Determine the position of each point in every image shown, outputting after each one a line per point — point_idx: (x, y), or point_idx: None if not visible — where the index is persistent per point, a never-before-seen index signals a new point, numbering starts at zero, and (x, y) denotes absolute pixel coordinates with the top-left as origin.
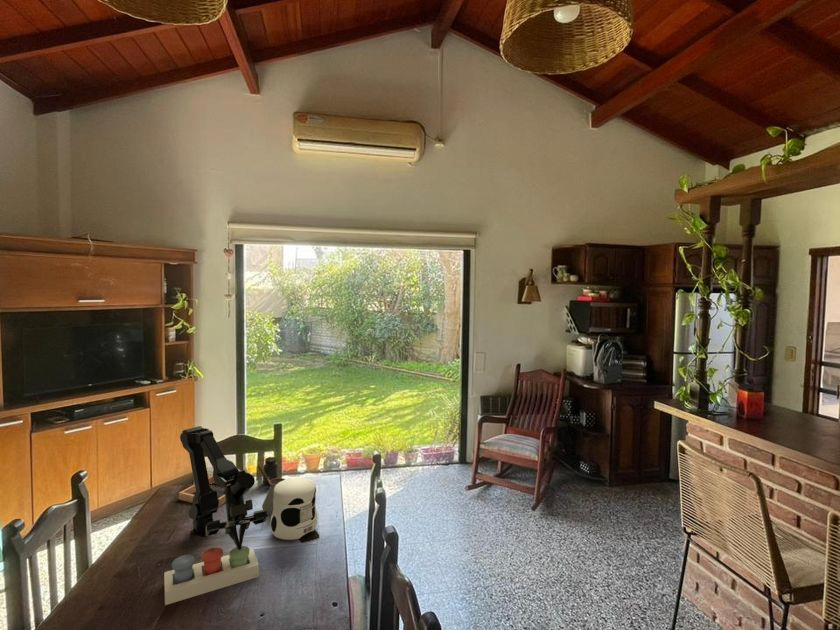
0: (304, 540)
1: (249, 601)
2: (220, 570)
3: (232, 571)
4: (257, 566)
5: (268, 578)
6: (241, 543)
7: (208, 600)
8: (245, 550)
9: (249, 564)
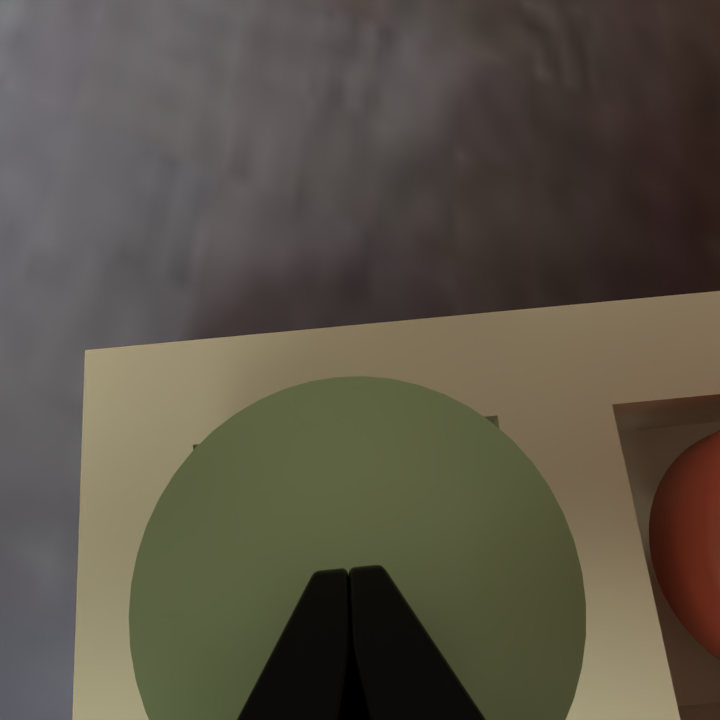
0: None
1: (298, 67)
2: (652, 517)
3: (476, 339)
4: (111, 353)
5: (50, 327)
6: (291, 652)
7: (690, 217)
8: (222, 583)
9: (214, 414)
